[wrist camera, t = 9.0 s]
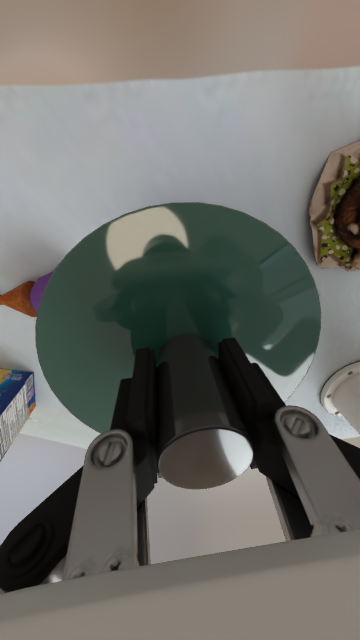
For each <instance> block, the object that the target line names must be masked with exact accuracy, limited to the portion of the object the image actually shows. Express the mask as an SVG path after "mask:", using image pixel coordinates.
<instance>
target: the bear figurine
mask: <svg viewBox="0 0 360 640" xmlns="http://www.w3.org/2000/svg"><path fill="white" fill-rule="evenodd" d="M311 201H312V204H311V206H310V208H309V215H311V220H310V222H309V223H310V225H311V228H312V234H313V246H314V253H315V258H316V263H317V264H318V265H319V266H320V268H331V267H341V268H343V269H345V270H346V271H358V270H360V141H357V142H355V143H353V144H350V145H348V146H345V147H343V148H341V149H338V150H336V151H333V152H331V153H330V156H329V158H328V161H327V163H326V165H325V168H324V170H323V173H322V175H321V177H320V180H319V182H318V185H317V187H316V190H315V192H314V194H313V197H312V199H311ZM310 203H311V202H310ZM309 205H310V204H309Z"/></svg>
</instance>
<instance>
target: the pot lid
mask: <svg viewBox="0 0 360 640" xmlns="http://www.w3.org/2000/svg"><path fill="white" fill-rule="evenodd" d="M35 328H36V348H37V354H38V359H39V363H40V366H41V368H42V371H43V374H44V377H45V379H46V380H47V382H48V384H49V386H50V388H51V390H52V391H53V393H54V394H55V395H56V397H57V398H58V399H59V401H60V402H61V403H62V404H63V405H64V406H65V407H66V408H67V409H68V410H69V412H70V413H71V414H73V415H74V416H75V417H76V418H78V419H79V420H80V421H81V422H83V423H84V424H86V425H87V426H89V427H90V428H92V429H94V430H95V431H97V432H99V433H101V434H102V433H104V432H106V431H108V430H110V427H111V423H112V418H113V413H114V409H115V404H116V399H117V395H118V390H119V385H120V381H121V379H126V378H132V376H133V369H134V363H135V356H136V350H137V349H139V348H149V350H153V351H154V357H155V363H156V383H157V445H156V462H157V468H158V471H159V473H160V475H161V476H162V477H163V478H164V479H165V480H166V481H167V482H169V483H170V484H172V485H174V486H177V487H181V488H185V489H207V488H212V487H216V486H220V485H223V484H225V483H228V482H230V481H232V480H233V479H235V478H237V477H238V476H240V475H241V474H242V473H244V471H246V470H247V468H248V467H249V466H250V464H251V463H252V460H253V458H254V444H253V441H252V439H251V437H250V434H249V432H248V429H247V427H246V425H245V422H244V420H243V418H242V415H241V413H240V411H239V408H238V406H237V403H236V401H235V399H234V396H233V394H232V392H231V389H230V387H229V385H228V382H227V380H226V377H225V375H224V373H223V370H222V368H221V366H220V363H219V361H218V343H219V342H222V339H225V338H235V339H236V340H237V342H238V343H239V345H240V347H241V348H242V350H243V351H244V353H245V354H246V356H247V358H248V359H249V361H250V362H251V363H257V364H258V365H259V366H260V368H261V369H262V371H263V372H264V374H265V375H266V376H267V378H268V379H269V381H270V382H271V384H272V385H273V387H274V388H275V390H276V391H277V393H278V394H279V396H280V397H281V399H282V400H283V402H285V401H286V400H287V399H288V398H289V397H290V396H291V395H292V393H293V392H294V391H295V389H296V388H297V387H298V386H299V384H300V383H301V381H302V380H303V378H304V376H305V375H306V373H307V371H308V369H309V367H310V365H311V363H312V360H313V358H314V355H315V352H316V349H317V345H318V341H319V335H320V329H321V308H320V301H319V295H318V292H317V288H316V285H315V282H314V279H313V277H312V275H311V273H310V271H309V269H308V267H307V265H306V263H305V261H304V260H303V259H302V257H301V256H300V255H299V253H298V252H297V250H296V249H295V248H294V247H293V246H292V245H291V244H290V243H289V242H288V241H287V240H286V239H285V238H284V237H283V236H282V235H281V234H280V233H278V232H277V231H276V230H274V229H273V228H271V227H270V226H268V225H267V224H266V223H264V222H262V221H260V220H258V219H256V218H254V217H252V216H250V215H248V214H246V213H244V212H241V211H237V210H234V209H231V208H227V207H224V206H220V205H213V204H206V203H199V202H184V203H168V204H161V205H155V206H149V207H146V208H142V209H139V210H136V211H133V212H130V213H126V214H124V215H122V216H120V217H118V218H116V219H114V220H112V221H110V222H108V223H105V224H103V225H102V226H100V227H99V228H98V229H96V230H95V231H93V232H92V233H90V234H89V235H87V236H86V237H85V238H83V239H82V240H81V241H80V242H79V243H78V244H77V245H76V246H75V247H74V248H73V249H72V250H71V251H70V252H69V253H68V254H67V255H66V256H65V257H64V259H63V260H62V261H61V263H60V264H59V265H58V267H57V268H56V269H55V270H54V272H53V274H52V276H51V278H50V280H49V282H48V283H47V285H46V287H45V289H44V292H43V295H42V298H41V301H40V304H39V307H38V313H37V320H36V326H35Z"/></svg>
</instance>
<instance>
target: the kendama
mask: <svg viewBox="0 0 360 640" xmlns="http://www.w3.org/2000/svg"><path fill="white" fill-rule="evenodd" d="M52 274H53V272H52V273H49V274H47V275H45V276H43V277H41V278H39V279H38V280H37V281H36V282H35V281H28V282H26V283H24V284H22V285H20V286H18V287H16V288H15V289H13V290H11V291H9V292H7V293H5V294H3V295H0V305H3V304H4V305H6V306H8V307H10V308H13V309H15V310H17V311H20V312H22V313H24V314H27V315H29V316H31V317H37V313H38V307H39V304H40V301H41V298H42V295H43V292H44V289H45V287H46V285H47V283H48V282H49V280H50V278H51V276H52Z"/></svg>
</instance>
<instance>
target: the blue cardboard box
mask: <svg viewBox="0 0 360 640" xmlns="http://www.w3.org/2000/svg"><path fill="white" fill-rule="evenodd" d="M35 406H36V401H35V386H34V372H25V371H15V370H6V369H0V461H1V460H2V458H3V456H4V455H5V453H6V452H7V450H8V448H9V447H10V445H11V444H12V442H13V441H14V439H15V438H16V436H17V434H18V433H19V431H20V430H21V428H22V427H23V425H24V423H25V422H26V420H27V419H28V417H29V416H30V414H31V412H32V411H33V409H34V408H35Z"/></svg>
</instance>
